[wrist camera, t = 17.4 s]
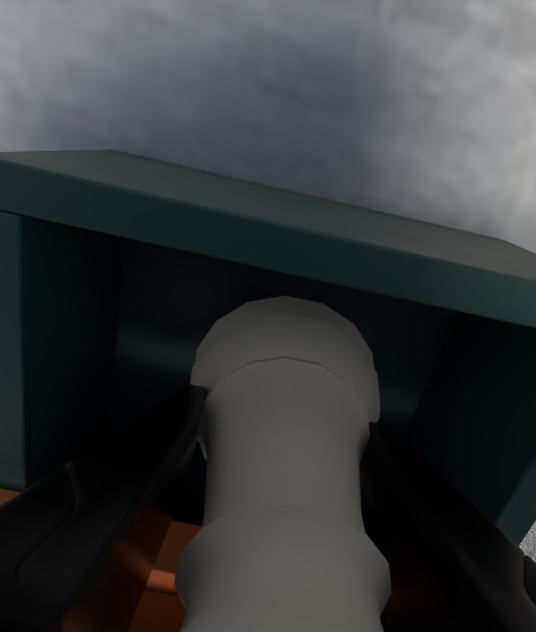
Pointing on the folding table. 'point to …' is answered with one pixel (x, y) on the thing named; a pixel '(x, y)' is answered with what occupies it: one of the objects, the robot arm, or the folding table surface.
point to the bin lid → (156, 581)
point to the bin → (245, 286)
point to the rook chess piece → (284, 476)
